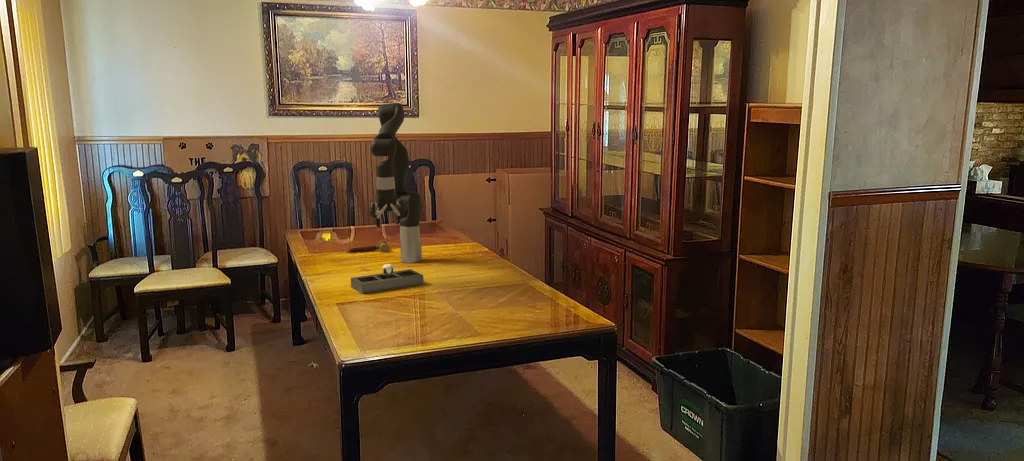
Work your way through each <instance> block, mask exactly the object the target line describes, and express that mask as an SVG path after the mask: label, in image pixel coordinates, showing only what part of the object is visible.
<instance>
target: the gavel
mask: <svg viewBox="0 0 1024 461" xmlns="http://www.w3.org/2000/svg"><path fill="white" fill-rule="evenodd" d="M378 250H379V251H380V253H382V254H385V253H388V252H389V251H390V247H389V245H388V244H387V242H386V241H385V240H380V241H379V242H378V243H377V245H370V246H358V247H352V248H349V249H347V250H345V253H349V254H350V253H351V254H352V253H354V254H355V253H364V252H374V251H378Z"/></svg>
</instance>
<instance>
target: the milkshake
mask: <svg viewBox="0 0 1024 461" xmlns="http://www.w3.org/2000/svg"><path fill="white" fill-rule="evenodd" d="M381 268H382V269H381V270H382V273H383V277H384V279H389V278H393V272H394V265H393V264H392V263H386V264H384V265H381Z"/></svg>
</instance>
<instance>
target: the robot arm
mask: <svg viewBox="0 0 1024 461" xmlns="http://www.w3.org/2000/svg"><path fill="white" fill-rule="evenodd" d="M377 115H378V120H379V124H380V129H379V130H378V133H377V134H376V136H375V137H374V138H373V139H371V140H372V141H371V143H370V147H369V150H370V153H371V154H372V156H375V157H387V159H386V160H384V161H381V162H377V163H376V166H375V172H376V180H375V181H376V182H375V183H376V198H377V201H376V202H370V204H369V217H371V218H374V223H375V226H376V227H377V228H381V219H380V217H381V215H383V213H387V212H393V213H394V223H395V225H399V235H400V236H399V243H400V244H399V246H400V262H401V263H407V264H408V263H409V264H410V263H411V264H412V263H418V262H421V261H423V257H422V256H423V253H422V252H423V251H422V250H423V249H422V248H423V247H422V241H421V239H420V238H421V236H420V232H421V230H420V221H421V215H422V214H421V213H422V212H421V211H422V198H421V196H420V194H419V193H418V192H416V191H407V188H406V183H405V182H406V181H405V180H406V177H407V174H408V171H409V169H410V157H409V153H408V149H407V148H406V146H405V145H404V144H403V143H402V142H401V141H400V140H399V139H398V138H397V133H398V130H399V129H400V128H401V126H402V125H403V122H404V121H405V110H404V106H403V105H402V103H400V102H391V103H384V104H383V103H382V104H380V105H378V107H377ZM377 207H378V208H377ZM405 212H407V216H406V217H403V218H401V217H400V216H401V215H403V214H404V213H405Z"/></svg>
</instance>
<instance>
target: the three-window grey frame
mask: <svg viewBox="0 0 1024 461" xmlns="http://www.w3.org/2000/svg"><path fill="white" fill-rule="evenodd" d="M421 285H424V274H422V273H420V272H418V271H415V270H414V269H410V268H409V269H404V270H402V269H401V270H395V271H393V278H389V279H384V277H383V272H381V273H374V274H368V275H361V276H354V277H350V288H351V289H353V290H355V291H357V292H358V293H360V294H361V295H365V294H371V293H376V292H383V291H389V290H396V289H402V288H409V287H414V286H415V287H416V286H421Z"/></svg>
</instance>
